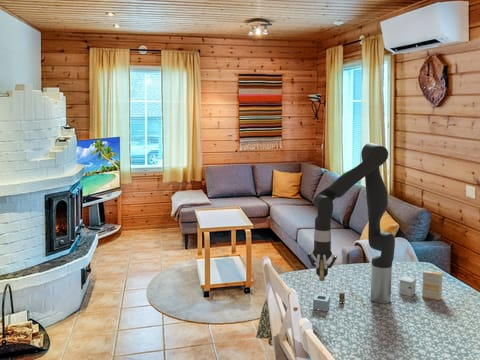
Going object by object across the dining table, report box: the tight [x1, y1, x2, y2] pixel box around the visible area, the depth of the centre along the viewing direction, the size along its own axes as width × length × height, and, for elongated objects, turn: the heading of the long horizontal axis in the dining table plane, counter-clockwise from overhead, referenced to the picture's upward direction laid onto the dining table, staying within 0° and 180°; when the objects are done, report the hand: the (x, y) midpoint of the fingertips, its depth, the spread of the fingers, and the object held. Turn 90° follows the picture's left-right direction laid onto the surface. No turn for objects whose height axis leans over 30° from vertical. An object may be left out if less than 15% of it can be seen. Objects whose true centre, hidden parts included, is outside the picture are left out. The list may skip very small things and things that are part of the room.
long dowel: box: [318, 260, 326, 282], centre depth 201 cm, size 2×2×10 cm
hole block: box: [312, 293, 331, 311], centre depth 204 cm, size 6×6×5 cm
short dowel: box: [338, 291, 346, 303], centre depth 210 cm, size 2×2×4 cm
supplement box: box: [421, 268, 444, 301], centre depth 213 cm, size 8×5×13 cm, turn 58°
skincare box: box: [398, 276, 417, 297], centre depth 219 cm, size 6×6×7 cm
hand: (321, 275), depth 202 cm, fingers closed on long dowel, 2 cm apart
